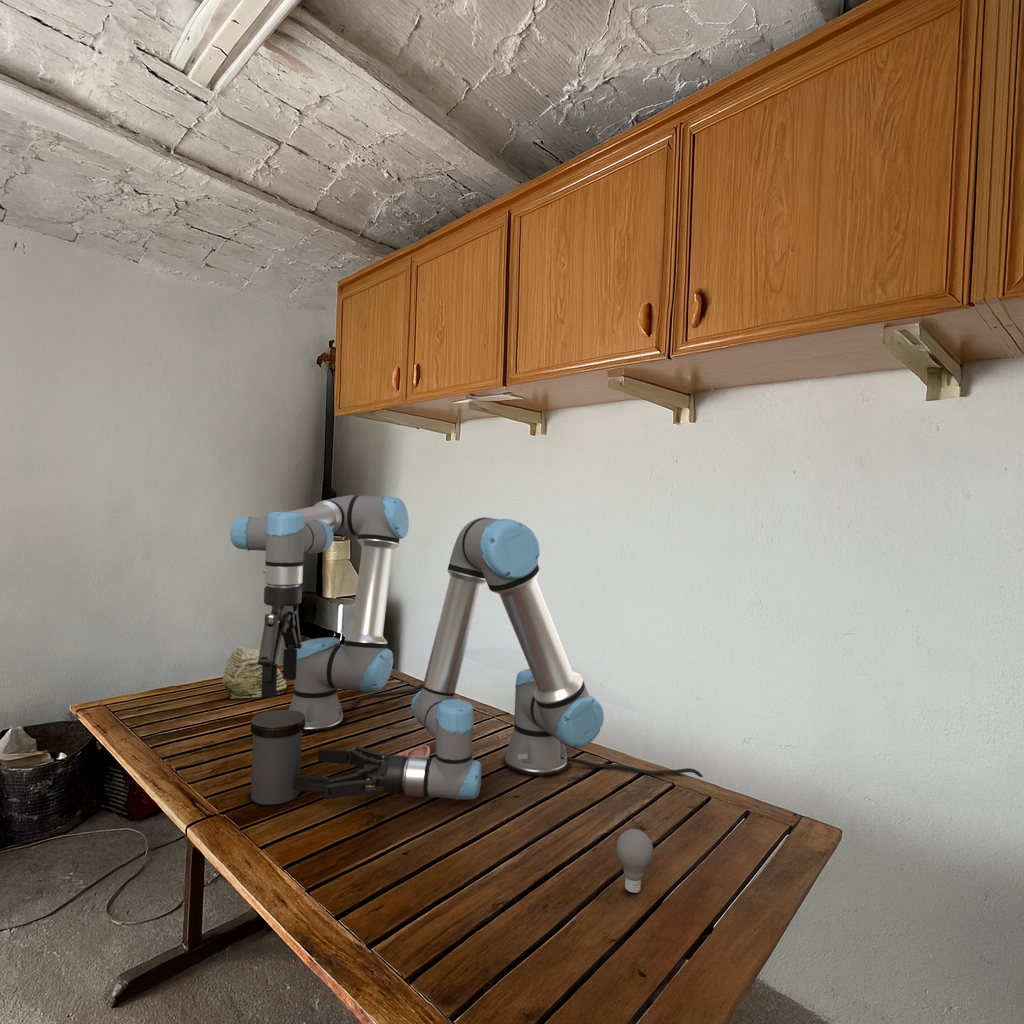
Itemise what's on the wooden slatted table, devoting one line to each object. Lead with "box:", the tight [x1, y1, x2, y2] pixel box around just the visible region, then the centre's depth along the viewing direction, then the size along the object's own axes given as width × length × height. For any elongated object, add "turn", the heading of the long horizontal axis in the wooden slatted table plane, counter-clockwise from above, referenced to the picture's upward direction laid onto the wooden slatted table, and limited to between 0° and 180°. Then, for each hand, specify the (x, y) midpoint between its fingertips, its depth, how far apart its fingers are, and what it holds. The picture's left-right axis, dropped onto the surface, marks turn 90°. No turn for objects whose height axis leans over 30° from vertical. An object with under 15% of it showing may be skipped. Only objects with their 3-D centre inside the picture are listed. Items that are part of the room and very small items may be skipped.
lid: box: [250, 709, 305, 738], centre depth 134 cm, size 11×11×2 cm
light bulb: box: [615, 828, 654, 894], centre depth 106 cm, size 6×6×10 cm
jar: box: [250, 731, 303, 806], centre depth 134 cm, size 10×10×16 cm
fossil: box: [222, 646, 288, 699], centre depth 198 cm, size 9×18×15 cm, turn 132°
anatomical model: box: [395, 744, 431, 759], centre depth 150 cm, size 13×4×12 cm
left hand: (279, 687), depth 134 cm, fingers open, 12 cm apart
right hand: (306, 768), depth 133 cm, fingers open, 13 cm apart
